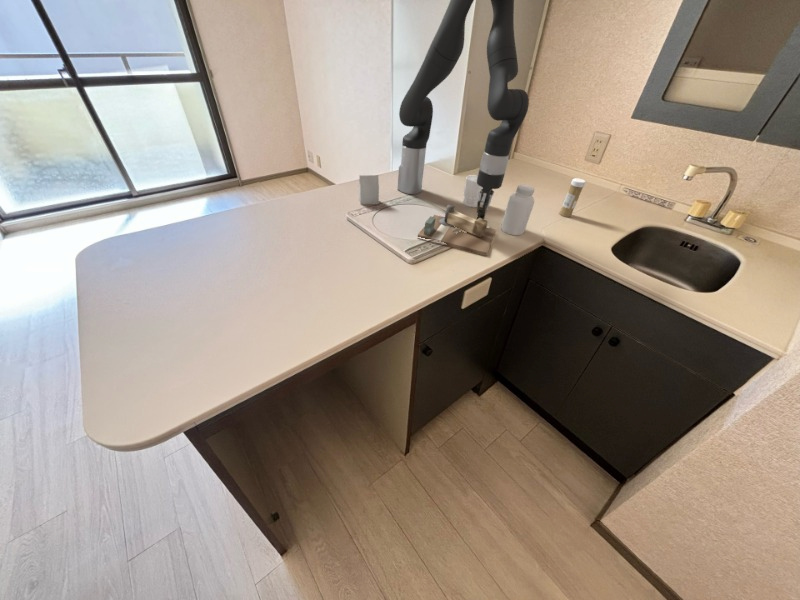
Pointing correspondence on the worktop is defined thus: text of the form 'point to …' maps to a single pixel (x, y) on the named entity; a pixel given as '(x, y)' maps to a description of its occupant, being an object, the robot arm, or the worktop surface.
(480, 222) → the stool leg
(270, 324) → the worktop surface
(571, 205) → the sprinkles bottle
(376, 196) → the grey upright block
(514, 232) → the pill bottle
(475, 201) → the white cup
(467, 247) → the board
